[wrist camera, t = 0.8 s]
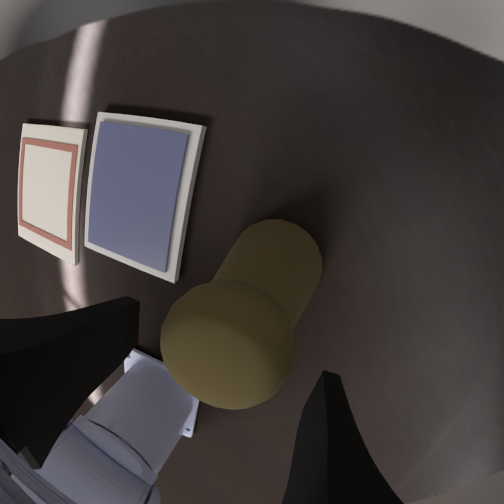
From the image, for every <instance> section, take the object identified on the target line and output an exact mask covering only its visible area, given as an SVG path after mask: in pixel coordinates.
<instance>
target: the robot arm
mask: <svg viewBox="0 0 504 504" xmlns="http://www.w3.org/2000/svg"><path fill="white" fill-rule="evenodd" d="M139 308H140V302H139V301H137V300H135V299H133V298H130V297H128V296H125V297H121V298H117V299H113V300H110V301H106V302H103V303H99V304H96V305H92V306H88V307H85V308H81V309H77V310H73V311H68V312H64V313H60V314H55V315H49V316H43V317H35V318H21V319H0V504H160V494H159V488H158V487H157V486H156V485H154V484H153V483H154V482H155V480H156V478H157V477H158V474H157V473H158V472H159V471H160V469H161V468H162V466H163V465H164V463H165V461H166V460H167V458H168V457H169V455H170V453H171V452H172V450H173V449H174V447H175V445H176V444H177V442H178V440H179V439H180V437H181V435H184V436H187V437H192V435H193V432H194V426H195V421H196V416H197V411H198V406H199V401H200V400H198V399H196V398H195V397H193V396H192V395H190V394H189V393H187V392H186V391H184V390H183V389H182V387H181V386H180V385H179V384H178V383H177V382H176V381H175V380H174V379H173V378H172V376H171V375H170V373H169V371H168V370H167V368H166V366H165V365H164V362H162V361H159V360H157V359H155V358H153V357H151V356H149V355H147V354H145V353H143V352H141V351H139V350H137V349H135V348H134V347H135V346H136V344H137V343H138V332H139ZM123 361H124V368H125V374H124V375H123V376H122V377H121V378H120V379H119V380H118V381H117V382H116V383H115V384H114V385H113V386H112V387H111V389H110V390H109V391H108V392H107V393H106V394H105V395H104V396H103V397H102V398H101V399H100V400H99V401H98V402H97V403H96V404H95V405H94V406H93V407H92V408H91V410H90V411H89V412H88V413H87V414H86V415H85V416H82V415H80V416H79V417H78V418H77V419H76V420H75V421H74V422H73V420H72V419H71V418H72V417H73V415H74V414H75V413H76V412H77V410H78V409H79V408H80V406H81V405H82V404H83V402H84V401H85V400H86V399H87V398H88V397H89V395H90V394H91V393H92V392H93V391H94V390H95V389H96V388H97V387H98V386H99V385H100V384H101V383H102V382H103V381H104V380H105V379H106V378H107V377H108V376H109V375H111V374H112V373H113V372H114V371H115V370H116V369H117V368H118V367H119V366H120V365H121V363H122V362H123ZM12 450H13V451H14V452H15V453H16V454H17V455H16V454H15V453H14V452H13V451H12ZM8 470H9V471H10V472H11V473H12V475H11V477H10V476H9V475H8V473H9V472H8ZM282 504H403V502H402V501H401V500H400V499H399V498H398V496H397V495H396V494H395V493H394V491H393V490H392V489H391V487H390V486H389V484H388V483H387V482H386V480H385V479H384V477H383V476H382V474H381V473H380V471H379V470H378V468H377V466H376V465H375V463H374V461H373V459H372V458H371V456H370V454H369V452H368V450H367V448H366V446H365V444H364V441H363V439H362V437H361V435H360V432H359V430H358V428H357V425H356V422H355V420H354V417H353V414H352V412H351V409H350V406H349V403H348V400H347V397H346V394H345V391H344V387H343V384H342V381H341V378H340V375H338V374H334V373H331V372H327V371H324V370H323V372H322V374H321V376H320V378H319V379H318V381H317V383H316V385H315V387H314V389H313V391H312V393H311V395H310V397H309V398H308V400H307V402H306V404H305V406H304V408H303V412H302V415H301V419H300V422H299V426H298V429H297V435H296V441H295V447H294V452H293V458H292V464H291V469H290V475H289V480H288V484H287V488H286V492H285V495H284V498H283V501H282Z"/></svg>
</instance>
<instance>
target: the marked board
mask: <svg viewBox="0 0 504 504" xmlns="http://www.w3.org/2000/svg"><path fill="white" fill-rule="evenodd" d="M87 134H88V129H80V128H72V127H62V126H52V125H41V124H28V123H25V124H23V128H22V137H21V146H20V158H19V173H18V234H19V236H20V237H22V238H24V239H26V240H27V241H29V242H31V243H33V244H35V245H36V246H38V247H40V248H42V249H44V250H46V251H47V252H49V253H51V254H53V255H55V256H57V257H59V258H61V259H62V260H64V261H66V262H68V263H70V264H72V265H74V266H76V265H78V241H79V211H80V196H81V183H82V173H83V164H84V155H85V148H86V141H87Z"/></svg>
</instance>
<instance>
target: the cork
mask: <svg viewBox="0 0 504 504" xmlns="http://www.w3.org/2000/svg"><path fill="white" fill-rule="evenodd" d="M321 275H322V256H321V253H320V251H319V248H318V245H317V243H316V242H315V241H314V239H313V238H312V237H311V236H310V234H309V233H308V232H307V231H305V230H304V229H302V228H301V227H299V226H298V225H297V224H295V223H292V222H288V221H285V220H282V219H265V220H262V221H260V222H257V223H254V224H252V225H250V226H249V227H248V228H247V229H245V230H244V231H243V232H242V233H241V234H240V236H239V237H238V239H237V240H236V242H235V244H234V245H233V247H232V249H231V250H230V252H229V253H228V255H227V257H226V258H225V260H224V262H223V263H222V265H221V266H220V268H219V270H218V271H217V273H216V275H215V276H214V278H213V280H212V281H211V282H208V283H205V284H201V285H198V286H195V287H193V288H192V289H191V290H189V291H188V292H187V293H185V294H184V295H183V296H182V297H180V298H179V299H178V300H177V301H176V302H175V303H174V304H173V305H172V307H171V309H170V311H169V313H168V314H167V316H166V318H165V320H164V322H163V324H162V327H161V339H160V349H161V354H162V358H163V361H164V365H165V366H166V368H167V370H168V371H169V373H170V375H171V376H172V378H173V379H174V380H175V381H176V382H177V383H178V384H179V385H180V386H181V387H182V389H183V390H184V391H186V392H187V393H189V394H190V395H192V396H193V397H195V398H196V399H198V400H200V401H202V402H204V403H207V404H209V405H212V406H214V407H219V408H225V409H231V410H233V409H247V408H250V407H252V406H255V405H258V404H260V403H262V402H264V401H266V400H268V399H270V398H271V397H272V396H273V395H274V394H275V393H276V392H277V391H279V390H280V389H281V387H282V386H283V385H284V383H285V382H286V381H287V378H288V376H289V374H290V371H291V369H292V367H293V363H294V359H295V336H294V330H293V329H294V327H295V325H296V324H297V322H298V320H299V318H300V317H301V315H302V313H303V311H304V310H305V308H306V306H307V304H308V302H309V301H310V299H311V297H312V295H313V294H314V292H315V290H316V288H317V286H318V284H319V281H320V278H321Z"/></svg>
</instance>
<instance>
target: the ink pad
mask: <svg viewBox="0 0 504 504" xmlns="http://www.w3.org/2000/svg"><path fill="white" fill-rule="evenodd" d="M206 127H207V126H201V125H196V124H190V123H184V122H178V121H171V120H165V119H158V118H150V117H142V116H134V115H125V114H116V113H105V112H98V116H97V121H96V127H95V133H94V140H93V146H92V154H91V161H90V170H89V179H88V190H87V202H86V219H85V246H86V247H88V248H90V249H92V250H95V251H97V252H99V253H102V254H104V255H106V256H109V257H111V258H113V259H116V260H118V261H120V262H123V263H125V264H127V265H130V266H132V267H135V268H137V269H139V270H142V271H144V272H147V273H149V274H152V275H154V276H157V277H159V278H162V279H164V280H167V281H169V282H172V283H175V282H176V281H178V280H179V273H180V266H181V260H182V253H183V247H184V241H185V235H186V229H187V223H188V217H189V211H190V206H191V200H192V195H193V190H194V185H195V179H196V174H197V169H198V165H199V160H200V155H201V150H202V146H203V141H204V136H205V132H206Z"/></svg>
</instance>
